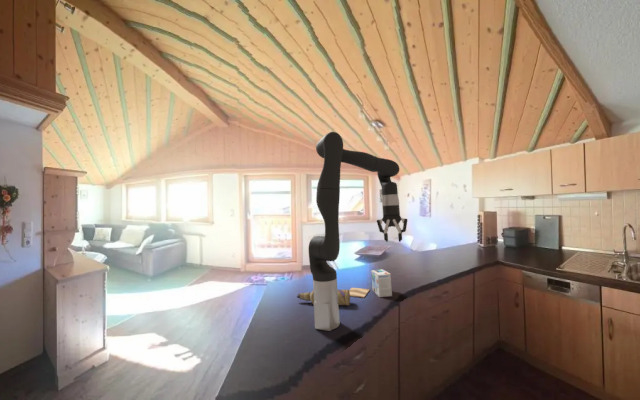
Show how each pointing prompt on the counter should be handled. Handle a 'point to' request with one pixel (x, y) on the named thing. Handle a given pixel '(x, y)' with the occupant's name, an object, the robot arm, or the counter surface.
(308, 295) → the decorative bottle
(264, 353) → the counter surface
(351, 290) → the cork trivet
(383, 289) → the light bulb box
